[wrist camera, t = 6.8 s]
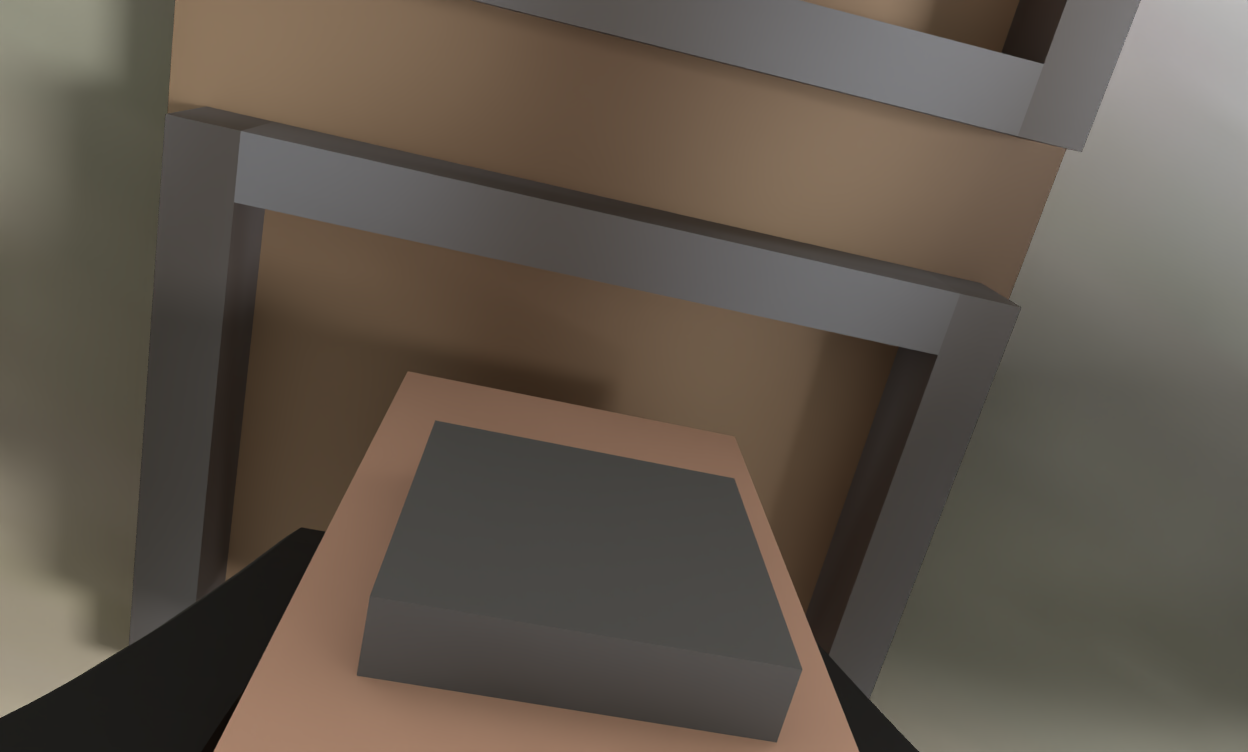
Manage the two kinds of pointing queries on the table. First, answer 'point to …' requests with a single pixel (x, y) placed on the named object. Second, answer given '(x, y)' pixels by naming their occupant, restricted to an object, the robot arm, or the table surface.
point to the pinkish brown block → (541, 595)
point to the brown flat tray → (602, 251)
